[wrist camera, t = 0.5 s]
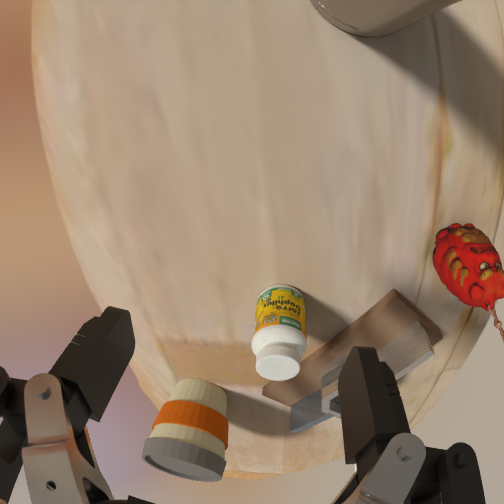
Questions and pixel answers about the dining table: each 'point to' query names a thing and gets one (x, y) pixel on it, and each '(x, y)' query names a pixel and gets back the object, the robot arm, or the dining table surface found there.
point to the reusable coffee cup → (190, 432)
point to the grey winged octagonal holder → (326, 398)
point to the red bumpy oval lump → (470, 267)
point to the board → (357, 334)
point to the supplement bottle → (279, 332)
